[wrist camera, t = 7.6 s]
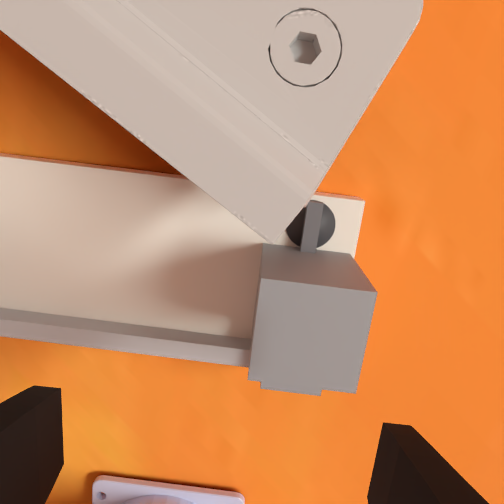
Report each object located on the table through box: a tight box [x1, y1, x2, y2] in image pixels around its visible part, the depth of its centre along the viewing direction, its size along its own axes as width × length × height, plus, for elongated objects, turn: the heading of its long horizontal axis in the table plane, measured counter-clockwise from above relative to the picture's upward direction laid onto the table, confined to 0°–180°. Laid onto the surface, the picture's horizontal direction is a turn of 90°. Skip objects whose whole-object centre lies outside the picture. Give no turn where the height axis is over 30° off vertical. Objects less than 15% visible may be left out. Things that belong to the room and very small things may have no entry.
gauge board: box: [0, 153, 377, 396], centre depth 16 cm, size 22×8×6 cm, turn 83°
